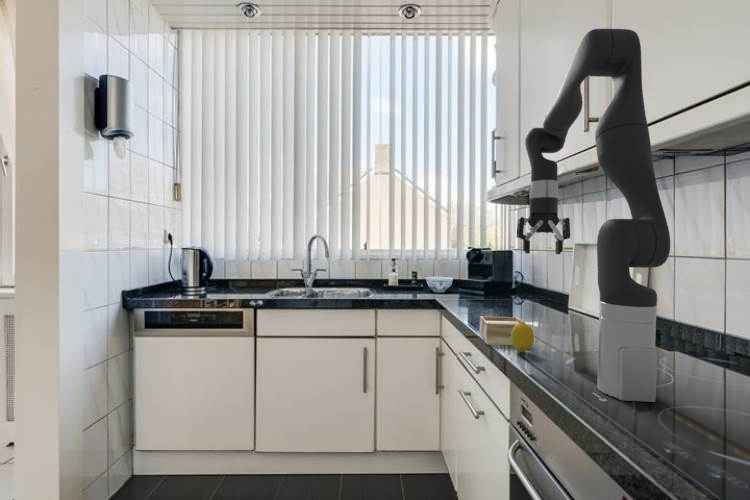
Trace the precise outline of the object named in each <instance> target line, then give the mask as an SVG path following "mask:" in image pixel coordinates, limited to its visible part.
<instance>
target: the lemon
mask: <svg viewBox="0 0 750 500" xmlns="http://www.w3.org/2000/svg"><path fill="white" fill-rule="evenodd" d="M524 322H525V321H523V322H521V323H519V324H516V325H515V326H514V328H513V329H512V333H511V341H512V344H513V345H512V346H513V347H514V348H515V349H517V350H518V351H519V352H520V353H524V352H525V351H527V350H529V349H531V348H532V346H533V345H534V341H535V337H534V336H535V335H534V331H533V329H532V327H531V326H530V325H529V324H528V323H526V322H525V323H526V324H525V323H524Z"/></svg>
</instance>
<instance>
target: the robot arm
mask: <svg viewBox="0 0 750 500" xmlns="http://www.w3.org/2000/svg"><path fill="white" fill-rule="evenodd" d="M583 36H584V37H583V38H582V39H581V40H580V43H579V44H578V45H577V49H576V50H575V52H574V55H573V57H572V60H571V62H570V65H569V67H568V70H567V72H566V75H565V77H564V80H563V82H562V84H561V88H560V89H559V92H558V93H557V97H556V99H555V100H554V101H553V104H552V105H551V106H550V108H549V110H548V112H547V113H546V115H545V116H544V119H543V121H542V127H532V128H531V129H529V130H528V132H526V134H525V139H524V144H525V150H526V153H527V155H528V160H529V164H530V171H531V172H530V187H529V216H528V218H526V217H523V216H522V217H518V218H517V227H516V238H517V239H520V240H522V241H523V242H522V244H523V245H522V250H523V252H524V253H525V254H526V255H527V254H530V252H531V251H530V250H531V246H530V245H531V240H530V239H531V237H532V236H533V235H535V234H536V233H539V234H540V233H543V234H549V233H550V234H551V235H552V236H553V237H554V239H555V248H554V249H555V254H556V255H561V253H563V251H564V248H563V247H564V241H565V240H568V239H569V240H570V239H571V223H570V222H571V221H570V218H569V217H563V218H559V216H558V214H559V213H558V212H559V185H558V169H559V167H558V164H557V162H556V161H555V160H551V159H548V158H545V157H544V155H543V154H556V153H558V152H560V151H561V150H562V149H563V148H564V146H565V143H566V139H567V135H568V132H569V131H570V128H571V126H572V125H573V124H574V123H575V122H576V120H577V119H578V117H579V116H580V114H581V112H582V108H583V103H584V102H583V95H582V89H581V87H582V86H581V85H582V83H583V81H584V80H586V78H587V77H602V78H604V77H607V78H608V77H610V78H611V79H612V81H613V89H614V90H613V92H614V93H613V97H612V100H611V102H610V103H609V105H608V107H607V108H606V110H605V111H604V113H603V114H602V116H601V117H600V119H599V122H598V124H597V126H596V128H595V133H594V135H595V146H596V149H595V150H596V155H597V161H598V164H599V166H600V168H601V169H602V171H603V172H604V174H605V175H606V176H607V177H608V179H609V180H610V181H611V182H612V183H613V184H614V186H616V188H617V189H618V190H619V192H620V193H621V194H622V195H623V197H624V198H625V200H626V203H627V204H628V207H629V210H630V215H631V218H612V219H611V218H610V219H607V220H605V221H604V222H603V223H602V224H601V226H600V227H599V231H598V233H597V234H598V235H597V240H596V257H597V258H596V259H597V260H596V261H597V286H598V290H599V312H598V314H599V315H598V316H599V317H598V341H597V343H598V346H597V380H596V381H597V382H596V383H597V385H596V388H597V390H599V391H600V392H602V393H603V394H605V395H607V394H608V396H610V397H614V398H616V399H617V400H619V401H627V402H630V401H632V402H648V403H649V402H652V403H656V401H657V398H656V397H657V373H658V372H657V371H658V370H657V369H658V368H657V367H658V350H657V349H656V336H657V335H656V331H657V308H658V307H657V305H658V295H657V291H656V290H655V289H653V288H651V287H649V286H646V285H643V284H641V283H639V282H637V281H635V280H634V278H632V276H631V271H630V268H639V269H640V268H645V269H646V268H647V269H648V268H650V269H651V268H653V269H654V268H658V267H661V266H663V265H664V264H665V263H666V262H667V260H668V258H669V255H670V251H671V236H670V228H669V226H668V225H669V224H668V221H667V218H666V214H665V210H664V207H663V204H662V201H661V197H660V192H659V189H658V184H657V179H656V175H655V174H656V173H655V167H654V163H653V162H654V161H653V154H652V145H651V144H652V143H651V137H650V130H649V125H648V121H647V116H646V108H645V101H644V100H645V99H644V93H643V92H644V89H643V77H642V76H643V75H642V74H643V72H642V47H641V40H640V37H639V35H638V33H637V32H636V31H634V30H632V29H626V28H595V29H591V30H589V31H588V32H587V33H585V35H583ZM527 223H528V224H529V226H530V228H528V230H527V232H526V233H525V234H524V228H525V226H526V225H527ZM558 224H560V226H562V229H561V230H562V234H561V232H560V230H559V229H558V228H557V225H558Z"/></svg>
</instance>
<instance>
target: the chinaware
mask: <svg viewBox="0 0 750 500" xmlns="http://www.w3.org/2000/svg"><path fill="white" fill-rule="evenodd" d="M425 280H426V283H427V284H426V285H428V287H429V288H430V289H431V290H432V292H434V293H445V292H446V290H449V288H450V287H451V286H452V283H453V280H454V278H453V277H450V276H449V277H447V276H426V277H425Z"/></svg>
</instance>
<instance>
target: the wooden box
mask: <svg viewBox="0 0 750 500" xmlns="http://www.w3.org/2000/svg"><path fill="white" fill-rule="evenodd" d="M521 322H524V323H525V324H527V323H526V322H525V321H523V320H522V319H520V318H519V317H514V316H513V317H510V316H488V315H487V316H485V315H484V316H482V315H480V316H479V336H480V338H481V339H482V340H483V342H484V343H485V345H494V346H495V345H500V346H502V345H503V346H514V345H513V344H512V341H511V333H512V329H513V328H514V326H515V325H516V324H519V323H521Z"/></svg>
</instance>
